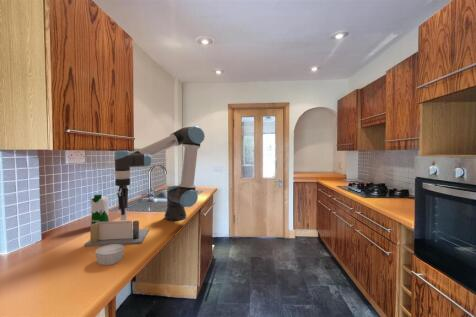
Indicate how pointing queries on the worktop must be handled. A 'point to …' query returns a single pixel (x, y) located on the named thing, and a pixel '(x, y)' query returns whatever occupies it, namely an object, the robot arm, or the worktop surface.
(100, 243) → the board
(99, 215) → the milk carton
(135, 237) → the hinge post
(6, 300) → the worktop surface
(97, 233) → the post
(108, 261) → the ramekin
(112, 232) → the rod
